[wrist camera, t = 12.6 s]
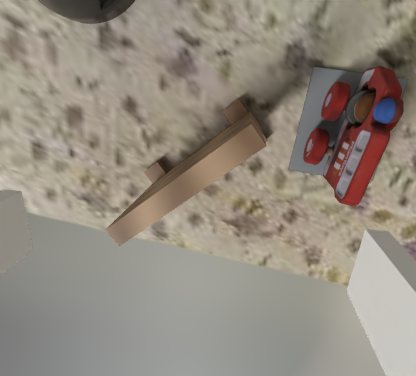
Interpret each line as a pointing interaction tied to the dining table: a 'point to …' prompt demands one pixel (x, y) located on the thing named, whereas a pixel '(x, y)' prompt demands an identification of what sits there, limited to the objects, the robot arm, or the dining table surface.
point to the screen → (191, 173)
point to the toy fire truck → (356, 132)
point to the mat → (312, 114)
